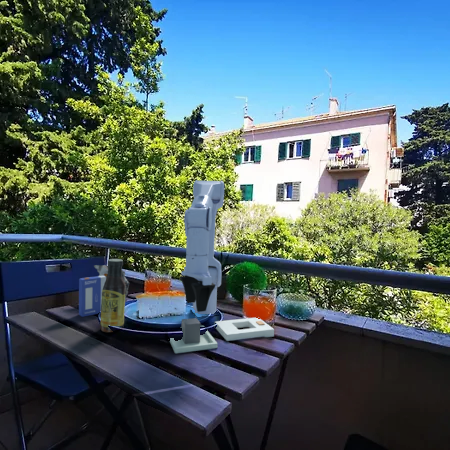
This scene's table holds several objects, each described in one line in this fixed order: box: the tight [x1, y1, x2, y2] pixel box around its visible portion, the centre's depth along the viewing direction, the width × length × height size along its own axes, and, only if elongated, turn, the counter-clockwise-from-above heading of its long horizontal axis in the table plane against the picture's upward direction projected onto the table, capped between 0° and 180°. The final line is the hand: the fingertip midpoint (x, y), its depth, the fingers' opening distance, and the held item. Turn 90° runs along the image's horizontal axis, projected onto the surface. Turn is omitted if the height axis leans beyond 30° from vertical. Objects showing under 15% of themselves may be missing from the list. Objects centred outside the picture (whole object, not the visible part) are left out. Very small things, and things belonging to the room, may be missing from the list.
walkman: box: [78, 275, 106, 318], centre depth 101 cm, size 8×3×12 cm, turn 135°
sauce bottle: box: [100, 258, 126, 333], centre depth 88 cm, size 6×6×20 cm
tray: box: [169, 325, 219, 354], centre depth 82 cm, size 13×11×2 cm
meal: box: [93, 264, 130, 303], centre depth 112 cm, size 15×4×13 cm, turn 65°
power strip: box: [214, 317, 275, 342], centre depth 89 cm, size 10×14×2 cm
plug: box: [181, 317, 202, 344], centre depth 82 cm, size 4×4×5 cm
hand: (196, 306), depth 81 cm, fingers open, 7 cm apart
